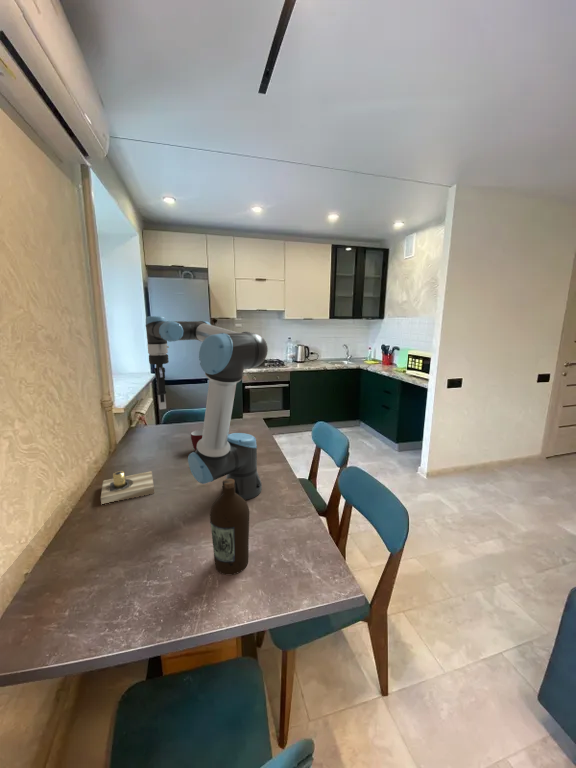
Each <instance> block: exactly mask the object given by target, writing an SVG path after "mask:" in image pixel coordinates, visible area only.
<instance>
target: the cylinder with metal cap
mask: <svg viewBox="0 0 576 768" xmlns="http://www.w3.org/2000/svg"><path fill="white" fill-rule="evenodd" d="M125 476H126V475H125V471H124V470H118V471H114V472H113V473H112V479H113V481H114V489H119V488H123V487H125V486H126V483H125Z"/></svg>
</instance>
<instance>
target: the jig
mask: <svg viewBox="0 0 576 768" xmlns="http://www.w3.org/2000/svg"><path fill="white" fill-rule="evenodd" d="M125 483H126V486H125V487H123V488H119V489H114V481H113V478H110V479H104V480H103V481H102V486H101V494H100V502H101V503H100V505H102V504H104V503H109V502H114V501H118V502H120V501H119V500H123V501H125V500H124V499H127V500H130V499H129V498H132V499H135V498H134V497H136V498H139V496H141V497H144V495H145V496H150V495H154V494H155V485H154V478H153V471H147V472H146V471H145V472H140V473H135V474H131V475H125ZM153 493H154V494H153ZM149 494H150V495H149ZM114 503H115V502H114ZM109 504H110V503H109Z"/></svg>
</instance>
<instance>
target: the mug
mask: <svg viewBox="0 0 576 768" xmlns="http://www.w3.org/2000/svg"><path fill="white" fill-rule="evenodd" d="M202 436H203V429H201V430H200V429H199V430H198V429H196V430H194V431H191V433H190V438H191V439H190V441H191V444H192V447H193V450H194V452H196V447H197V443H198V441H199V440H201V439H202Z"/></svg>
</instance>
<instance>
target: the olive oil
mask: <svg viewBox="0 0 576 768" xmlns="http://www.w3.org/2000/svg"><path fill="white" fill-rule="evenodd" d="M221 490H222V494H221V495H220V496H219V497H218V498H217V499H216V500H215V501H214V502H213V504H212V506H211V507H210V508H211V509H210V511H209V512H210V513H209V524H210V528H211V529H210V530H211V539H212V548H213V558H214V566H215V569H216V571H217V570H218V571H217V572H219V573H220V572H221V573H220V574H222V573H223V574H222V575H226V574H232V575H235V574H234V573H236V574H238V573H237V572H239V573H240V571H241V570H242V571H244V569H245V568H246V567H247V566H248V564H249V551H250V550H249V548H250V546H249V543H250V541H249V539H250V538H249V537H250V509H249V505H248V503H247V500H244V499H243V498H242V497H241V496H239V495H238V494H236V493H235V481H234V479H226V478H225V479H224V480H222V489H221ZM242 571H241V572H242Z"/></svg>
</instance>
